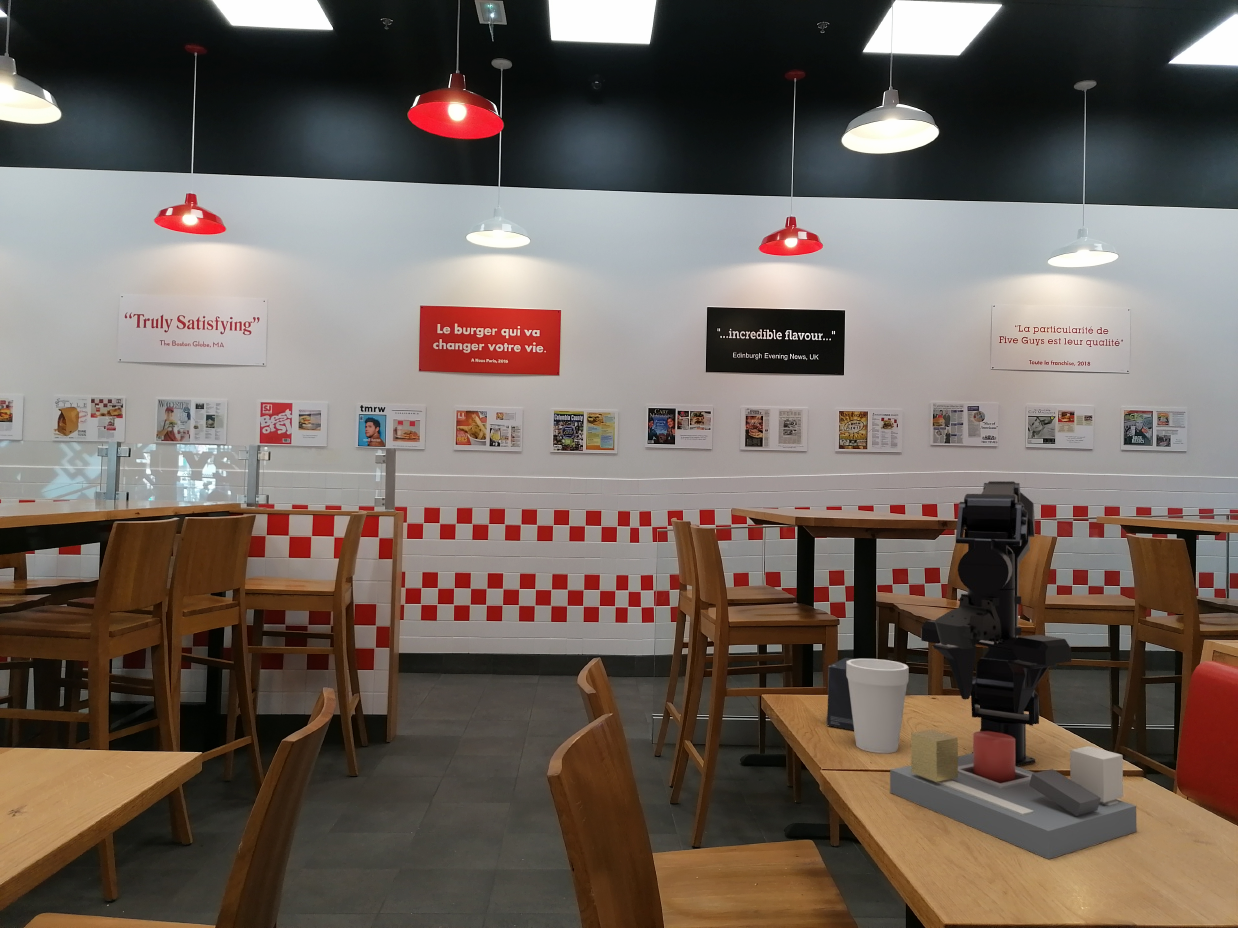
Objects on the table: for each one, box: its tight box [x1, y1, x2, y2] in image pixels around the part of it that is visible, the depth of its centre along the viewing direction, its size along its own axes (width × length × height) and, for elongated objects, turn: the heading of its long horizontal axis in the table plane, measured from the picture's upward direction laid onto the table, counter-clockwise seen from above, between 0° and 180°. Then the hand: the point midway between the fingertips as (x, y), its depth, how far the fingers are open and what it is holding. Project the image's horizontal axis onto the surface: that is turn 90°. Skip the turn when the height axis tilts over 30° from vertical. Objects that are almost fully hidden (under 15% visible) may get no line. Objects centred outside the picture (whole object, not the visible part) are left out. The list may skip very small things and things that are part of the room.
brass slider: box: [910, 729, 959, 782], centre depth 101 cm, size 4×4×5 cm
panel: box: [889, 753, 1138, 860], centre depth 99 cm, size 17×22×3 cm
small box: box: [826, 657, 854, 731], centre depth 139 cm, size 11×6×10 cm, turn 148°
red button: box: [972, 730, 1015, 783], centre depth 103 cm, size 5×5×6 cm
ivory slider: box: [1069, 745, 1124, 802], centre depth 96 cm, size 4×4×5 cm
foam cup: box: [846, 658, 910, 754], centre depth 125 cm, size 10×9×13 cm
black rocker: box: [1029, 768, 1101, 816], centre depth 92 cm, size 4×6×2 cm, turn 29°
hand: (991, 705), depth 104 cm, fingers open, 8 cm apart
